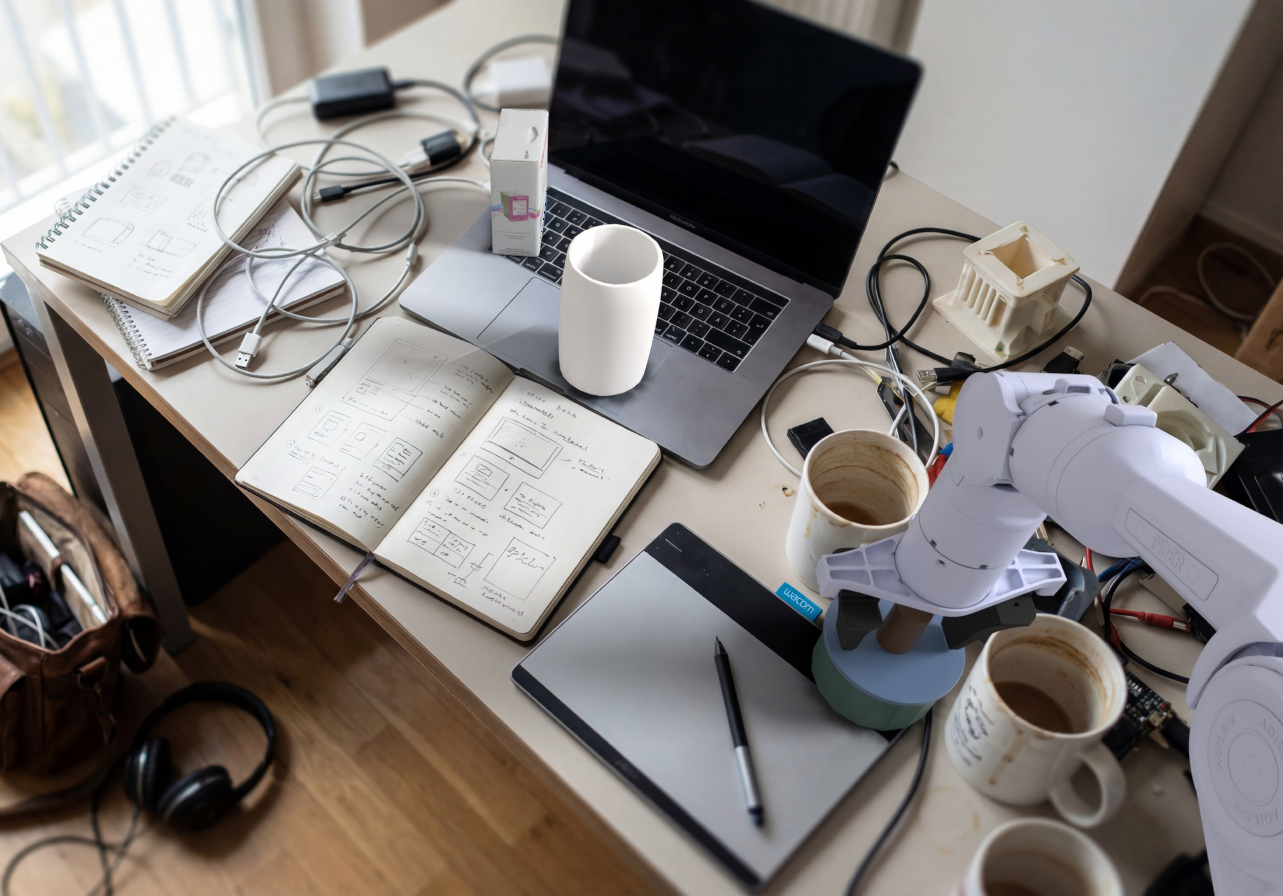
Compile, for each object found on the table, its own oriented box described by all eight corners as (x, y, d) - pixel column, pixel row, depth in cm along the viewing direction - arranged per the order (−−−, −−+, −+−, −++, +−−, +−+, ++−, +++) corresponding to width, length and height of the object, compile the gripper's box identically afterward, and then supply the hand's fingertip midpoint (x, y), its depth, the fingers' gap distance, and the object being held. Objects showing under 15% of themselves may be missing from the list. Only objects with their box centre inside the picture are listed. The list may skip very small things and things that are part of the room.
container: (956, 696, 73) (984, 663, 69) (867, 754, 71) (891, 724, 67) (872, 605, 78) (894, 569, 74) (785, 657, 75) (803, 623, 71)
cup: (581, 419, 90) (593, 303, 79) (539, 356, 95) (544, 238, 83) (664, 389, 92) (687, 271, 81) (619, 328, 97) (635, 209, 85)
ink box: (500, 201, 109) (500, 104, 99) (547, 205, 108) (551, 107, 99) (489, 254, 103) (489, 157, 94) (538, 258, 103) (542, 161, 94)
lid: (989, 668, 70) (1022, 629, 65) (887, 734, 67) (915, 699, 62) (891, 566, 75) (916, 524, 70) (792, 624, 72) (811, 584, 67)
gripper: (1070, 471, 61) (984, 585, 72) (829, 473, 61) (780, 586, 72) (1115, 572, 57) (1017, 677, 68) (856, 574, 57) (799, 678, 68)
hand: (896, 636), depth 70 cm, fingers open, 7 cm apart
